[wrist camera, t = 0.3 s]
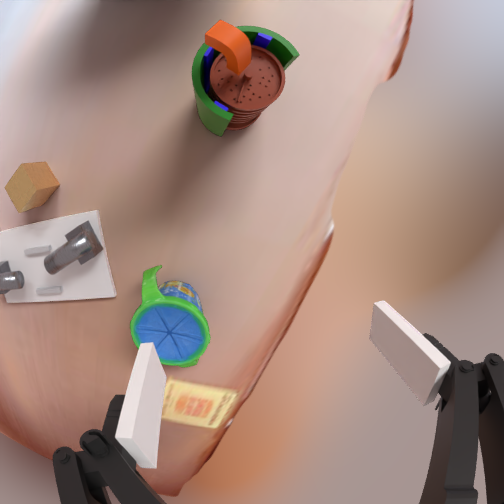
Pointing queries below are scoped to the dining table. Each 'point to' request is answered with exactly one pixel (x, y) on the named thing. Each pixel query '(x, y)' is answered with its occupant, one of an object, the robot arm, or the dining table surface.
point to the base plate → (44, 243)
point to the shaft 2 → (74, 249)
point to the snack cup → (170, 321)
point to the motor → (239, 74)
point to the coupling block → (31, 185)
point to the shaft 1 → (10, 278)
